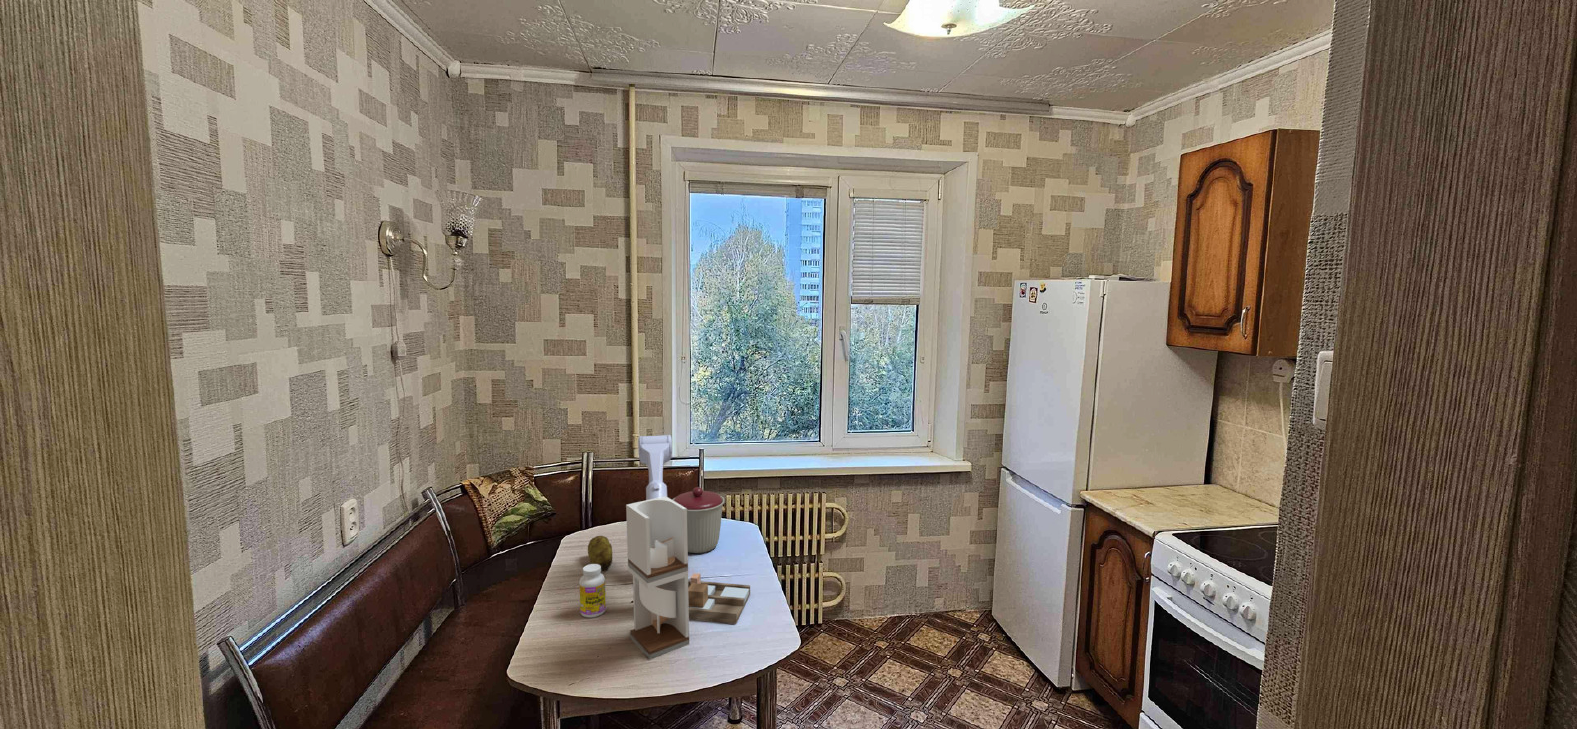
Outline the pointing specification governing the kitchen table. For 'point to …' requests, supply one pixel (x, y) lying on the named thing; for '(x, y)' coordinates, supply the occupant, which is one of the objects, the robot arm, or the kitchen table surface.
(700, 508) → the canister
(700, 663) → the kitchen table surface
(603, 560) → the potato
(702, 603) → the walnut block
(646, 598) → the white tiered stand
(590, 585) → the supplement bottle
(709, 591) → the broken strip
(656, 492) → the robot arm
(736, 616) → the lane board
